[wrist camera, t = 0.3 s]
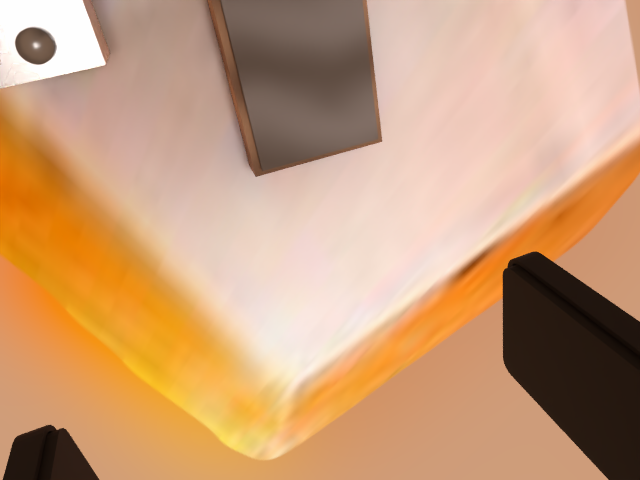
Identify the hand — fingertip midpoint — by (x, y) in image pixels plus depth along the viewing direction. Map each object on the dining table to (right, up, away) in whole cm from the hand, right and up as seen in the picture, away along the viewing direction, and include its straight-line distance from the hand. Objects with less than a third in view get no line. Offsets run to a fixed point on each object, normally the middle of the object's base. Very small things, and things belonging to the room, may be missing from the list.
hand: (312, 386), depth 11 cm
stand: (-2, +16, +26) cm, 31 cm away
